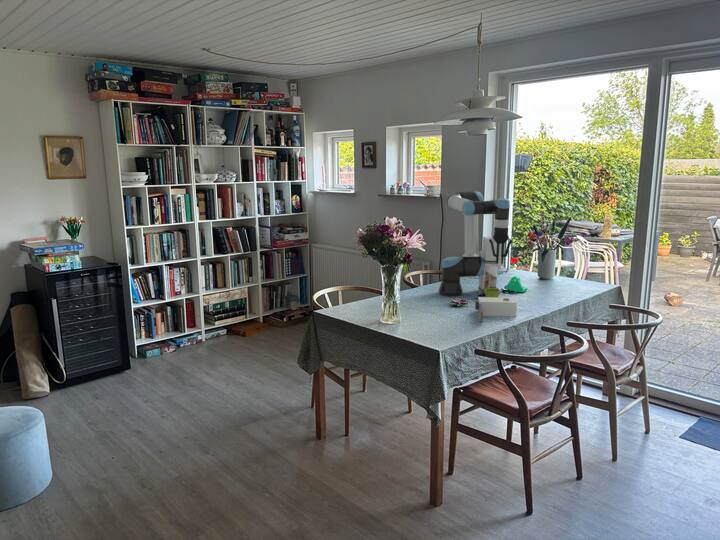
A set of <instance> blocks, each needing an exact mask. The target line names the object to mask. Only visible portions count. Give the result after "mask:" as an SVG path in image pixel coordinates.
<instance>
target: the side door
mask: <svg viewBox="0 0 720 540" xmlns="http://www.w3.org/2000/svg"><path fill="white" fill-rule="evenodd" d="M478 316H479V317H478V318H479V322H480V324H484V323H483V321H484V316H483V310H482V306H481V304H479V315H478Z"/></svg>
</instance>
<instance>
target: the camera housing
mask: <svg viewBox="0 0 720 540" xmlns="http://www.w3.org/2000/svg"><path fill="white" fill-rule="evenodd" d="M479 304H481V306H482V310H483V317H505V316H513V318H515V317H517V306H518V303H517V300H516V298H515V297H498V298H494V297H486V296H483V297H482V296H478V297H477V300H475V305H474V308H475V309H474V310H476V311H477V313H478V314H479ZM514 316H515V317H514Z"/></svg>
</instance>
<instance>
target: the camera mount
mask: <svg viewBox="0 0 720 540" xmlns="http://www.w3.org/2000/svg"><path fill="white" fill-rule="evenodd" d="M504 288H505V290H507V289H511V290H513V291H515V292H514V293H516V292H518V293H523V292H527V291H528V289H529V288H528V287H525V286H523V285H522V283H521V278H520V277H519V276H518V275H514V276H512V277H511V278H510V280H509V281H508V283H507V284H506V286H505V287H504ZM511 290H510V291H511Z"/></svg>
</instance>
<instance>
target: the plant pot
mask: <svg viewBox="0 0 720 540" xmlns="http://www.w3.org/2000/svg"><path fill="white" fill-rule="evenodd" d="M484 291H485V293H484V294H485V297H494V298H499V297H500V296H499V295H500V294H501V290H500V288H498V289H495V288H486V289H484ZM499 293H500V294H499Z"/></svg>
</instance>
